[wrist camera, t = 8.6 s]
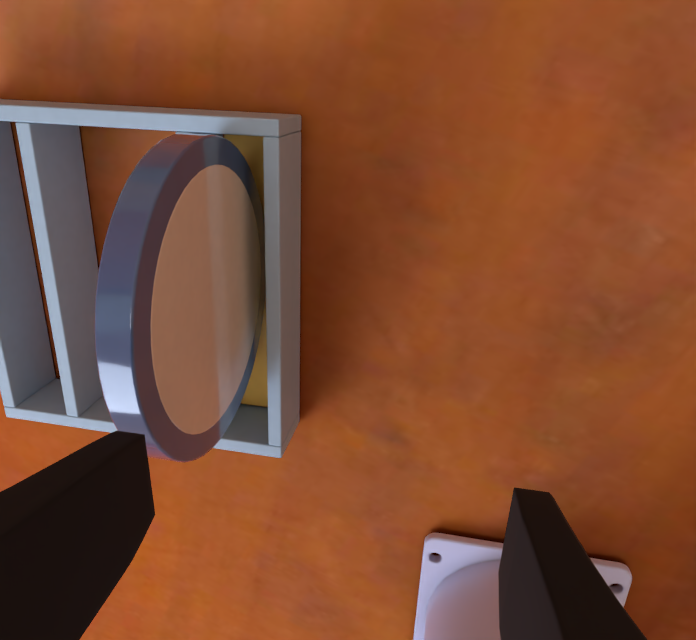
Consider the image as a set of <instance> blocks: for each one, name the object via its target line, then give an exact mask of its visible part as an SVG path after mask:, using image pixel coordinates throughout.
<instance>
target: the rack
mask: <svg viewBox="0 0 696 640" xmlns="http://www.w3.org/2000/svg"><path fill="white" fill-rule="evenodd" d="M10 122H16V129H17V135H18V140H19V146H20V152H21V157H22V163H23V169H24V174H25V180H26V186H27V192H28V197H29V203H30V209H31V214H32V220H33V226H34V231H35V237H36V243H37V248H38V254H39V260H40V266H41V271H42V277H43V283H44V288H45V294H46V300H47V305H48V311H49V317H50V322H51V328H52V334H53V340H54V345H55V351H56V357H57V362H58V368H59V374H60V379H56V376H55V370H54V364H53V359H52V353H51V348H50V342H49V336H48V331H47V325H46V320H45V314H44V308H43V303H42V297H41V292H40V286H39V281H38V275H37V269H36V264H35V258H34V253H33V247H32V241H31V236H30V230H29V225H28V219H27V214H26V208H25V202H24V197H23V191H22V186H21V180H20V174H19V169H18V163H17V158H16V152H15V146H14V141H13V135H12V130H11V124H10ZM79 126H94V127H111V128H128V129H145V130H162V131H177V132H176V134H181V133H193V134H210V135H217V136H221V137H223V134H224V138H225V139H227V140H229V141H231V142H232V143H233V144H234V145H235V146H236V147H237V148H238V149H239V150H240V152H241V153H242V154H243V156H244V157H245V159H246V161H247V163H248V165H249V166H250V169H251V171H252V174H253V176H254V179H255V182H256V185H257V189H258V192H259V196H260V201H261V205H262V211H263V217H264V225H265V276H266V295H265V306H264V315H263V322H262V329H261V334H260V340H259V345H258V349H257V354H256V358H255V362H254V366H253V369H252V373H251V376H250V379H249V382H248V385H247V388H246V391H245V394H244V396H243V399H242V401H241V404H240V406H239V408H238V410H237V412H236V414H235V416H234V418H233V420H232V422H231V424H230V425H229V427H228V429H227V431H226V432H225V433H224V435H223V436H222V438H221V439H220V440H219V442H218V443H217V444H216V445H215V446H214V447H213V448H217V449H224V450H230V451H237V452H244V453H250V454H257V455H264V456H270V457H277V458H282V456H283V454H284V452H285V450H286V448H287V446H288V444H289V442H290V440H291V438H292V436H293V434H294V432H295V429H296V427H297V425H298V423H299V421H300V413H299V411H300V250H301V131H300V130H301V115H299V114H279V113H260V112H241V111H222V110H202V109H183V108H164V107H145V106H126V105H106V104H87V103H68V102H49V101H29V100H10V99H0V391H1V395H2V400H3V404H4V406H5V407H4V408H5V413H6V416H7V417H11V418H17V419H24V420H31V421H37V422H44V423H51V424H57V425H64V426H71V427H77V428H84V429H91V430H97V431H104V432H110V433H112V432H115V431H118V430H117V428H116V427H115V425H114V423H113V421H112V419H111V417H110V414H109V411H108V409H107V406H106V403H105V400H104V397H103V392H102V388H101V384H100V380H99V374H98V367H97V359H96V349H95V328H94V325H95V298H96V289H97V280H98V271H99V270H98V263H97V256H96V248H95V241H94V233H93V226H92V219H91V211H90V204H89V197H88V189H87V182H86V175H85V167H84V160H83V152H82V145H81V138H80V130H79ZM246 404H249V405H246ZM254 405H256V406H254ZM261 406H263V407H261Z"/></svg>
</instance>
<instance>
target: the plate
mask: <svg viewBox="0 0 696 640" xmlns="http://www.w3.org/2000/svg"><path fill="white" fill-rule="evenodd" d="M265 295H266V276H265V225H264V217H263V211H262V205H261V201H260V196H259V192H258V189H257V185H256V182H255V179H254V176H253V174H252V171H251V169H250V166H249V165H248V163H247V161H246V159H245V157H244V156H243V154H242V153H241V152H240V150H239V149H238V148H237V147H236V146H235V145H234V144H233V143H232V142H231V141H229V140H227V139H225V138H223V137H221V136H217V135H210V134H193V133H181V134H174V135H172V136H170V137H167V138H165V139H163V140H161V141H160V142H158V143H157V144H156V145H155V146H153V147H152V148H151V149H150V150H149V151H148V152H147V153H146V154H145V155H144V156H143V158H142V159H141V160H140V161H139V162H138V164H137V165H136V167H135V169H134V170H133V172H132V173H131V175H130V176H129V178H128V180H127V182H126V184H125V186H124V188H123V190H122V192H121V194H120V196H119V198H118V201H117V204H116V206H115V209H114V212H113V214H112V217H111V220H110V223H109V227H108V231H107V234H106V238H105V241H104V245H103V250H102V256H101V261H100V266H99V271H98V280H97V289H96V298H95V325H94V328H95V349H96V359H97V367H98V374H99V380H100V384H101V388H102V392H103V397H104V400H105V403H106V406H107V409H108V411H109V414H110V417H111V419H112V421H113V423H114V425H115V427H116V428H117V430H118V431H124V432H131V433H138V434H145V441H146V449H147V456H148V457H151V458H157V459H164V460H170V461H177V462H189V461H193V460H196V459H198V458H200V457H202V456H204V455H205V454H206V453H207V452H209V451H210V450H211V449H212V448H213V447H214V446H215V445H216V444H217V443H218V442H219V440H220V439H221V438H222V436H223V435H224V433H225V432H226V431H227V429H228V427H229V425H230V424H231V422H232V420H233V418H234V416H235V414H236V412H237V410H238V408H239V406H240V404H241V401H242V399H243V396H244V394H245V391H246V388H247V385H248V382H249V379H250V376H251V373H252V369H253V366H254V362H255V358H256V354H257V349H258V345H259V340H260V334H261V329H262V322H263V315H264V306H265Z"/></svg>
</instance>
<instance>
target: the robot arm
mask: <svg viewBox="0 0 696 640" xmlns="http://www.w3.org/2000/svg"><path fill="white" fill-rule="evenodd" d="M154 516H155V511H154V503H153V495H152V487H151V480H150V472H149V464H148V456H147V449H146V441H145V434H138V433H131V432H124V431H115V432H112V433H110V434H108V435H106V436H104V437H102V438H100V439H98V440H96V441H94V442H92V443H91V444H89V445H87V446H85V447H83V448H81V449H79V450H78V451H76V452H74V453H72V454H70V455H69V456H67V457H65V458H63V459H61V460H59V461H58V462H56V463H54V464H52V465H50V466H48V467H47V468H45V469H43V470H41V471H39V472H37V473H36V474H34V475H32V476H30V477H28V478H26V479H25V480H23V481H21V482H19V483H17V484H15V485H13V486H12V487H10V488H8V489H6V490H4V491H2V492H0V640H79V639H80V638H81V636H82V635H83V633H84V632H85V630H86V629H87V627H88V626H89V625H90V623H91V622H92V620H93V619H94V617H95V616H96V614H97V613H98V611H99V610H100V608H101V607H102V605H103V604H104V602H105V601H106V599H107V598H108V596H109V595H110V593H111V592H112V590H113V589H114V587H115V586H116V584H117V583H118V581H119V580H120V578H121V577H122V575H123V574H124V572H125V571H126V569H127V568H128V566H129V565H130V563H131V561H132V560H133V558H134V556H135V554H136V552H137V550H138V548H139V546H140V544H141V542H142V541H143V538H144V536H145V534H146V532H147V530H148V528H149V526H150V524H151V522H152V520H153V518H154ZM431 553H438V554H440V555H432V554H431ZM631 582H632V575H631V572H630V569H629V568H628V566H626V565H625V564H623V563H620V562H614V561H608V560H602V559H596V558H590V557H589V556H588V555H587V553H586V551H585V550H584V548H583V547H582V545H581V543H580V542H579V540H578V539H577V537H576V535H575V534H574V532H573V530H572V529H571V527H570V525H569V524H568V522H567V520H566V519H565V517H564V515H563V513H562V512H561V510H560V508H559V506H558V505H557V503H556V501H555V499H554V498H553V497H552V495H551V494H550V493H549V492H542V491H535V490H528V489H521V488H514V491H513V496H512V502H511V507H510V512H509V518H508V523H507V528H506V534H505V539H504V543H498V542H492V541H486V540H480V539H474V538H468V537H462V536H456V535H449V534H443V533H430V534H428V535H427V536H426V538H425V540H424V549H423V558H422V567H421V575H420V584H419V593H418V602H417V610H416V619H415V628H414V636H413V640H647V639H646V637H645V636H644V635H643V633H642V632H641V631H640V629H639V628H638V627H637V625H636V624H635V623H634V621H633V620H632V619H631V617H630V616H629V615H628V613H627V612H626V610H625V609H624V605H625V602H626V599H627V595H628V592H629V589H630V585H631ZM611 584H618V585H616V586H612V585H611Z"/></svg>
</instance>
